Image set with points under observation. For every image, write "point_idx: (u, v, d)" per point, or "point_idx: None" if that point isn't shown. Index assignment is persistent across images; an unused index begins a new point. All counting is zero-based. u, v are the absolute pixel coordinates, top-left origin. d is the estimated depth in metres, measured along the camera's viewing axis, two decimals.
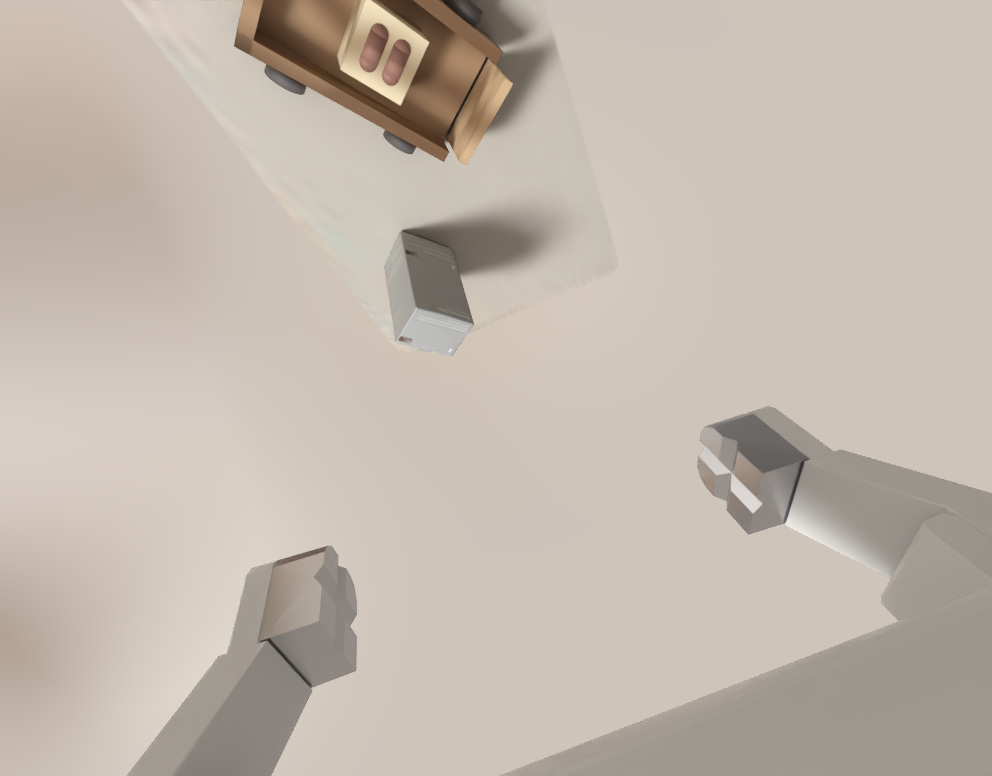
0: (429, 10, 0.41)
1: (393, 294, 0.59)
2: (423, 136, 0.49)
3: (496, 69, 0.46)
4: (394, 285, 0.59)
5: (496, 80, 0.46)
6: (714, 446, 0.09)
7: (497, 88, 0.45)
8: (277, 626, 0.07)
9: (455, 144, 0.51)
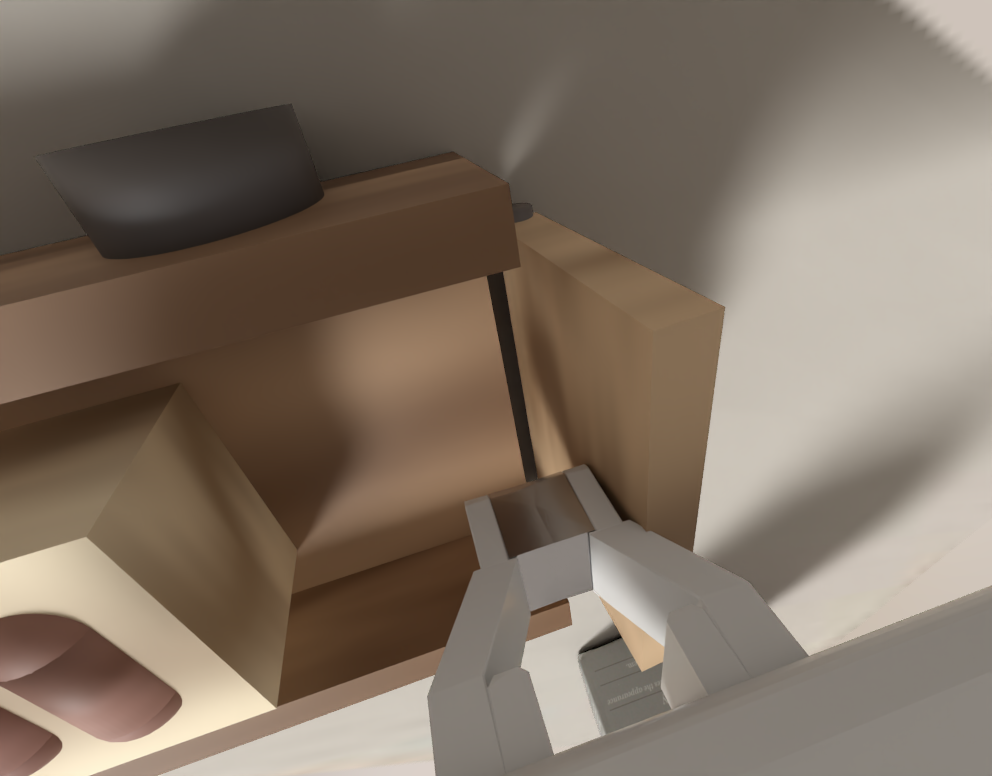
0: None
1: None
2: None
3: (553, 269, 0.08)
4: None
5: (594, 336, 0.07)
6: None
7: (631, 390, 0.06)
8: (521, 545, 0.08)
9: None
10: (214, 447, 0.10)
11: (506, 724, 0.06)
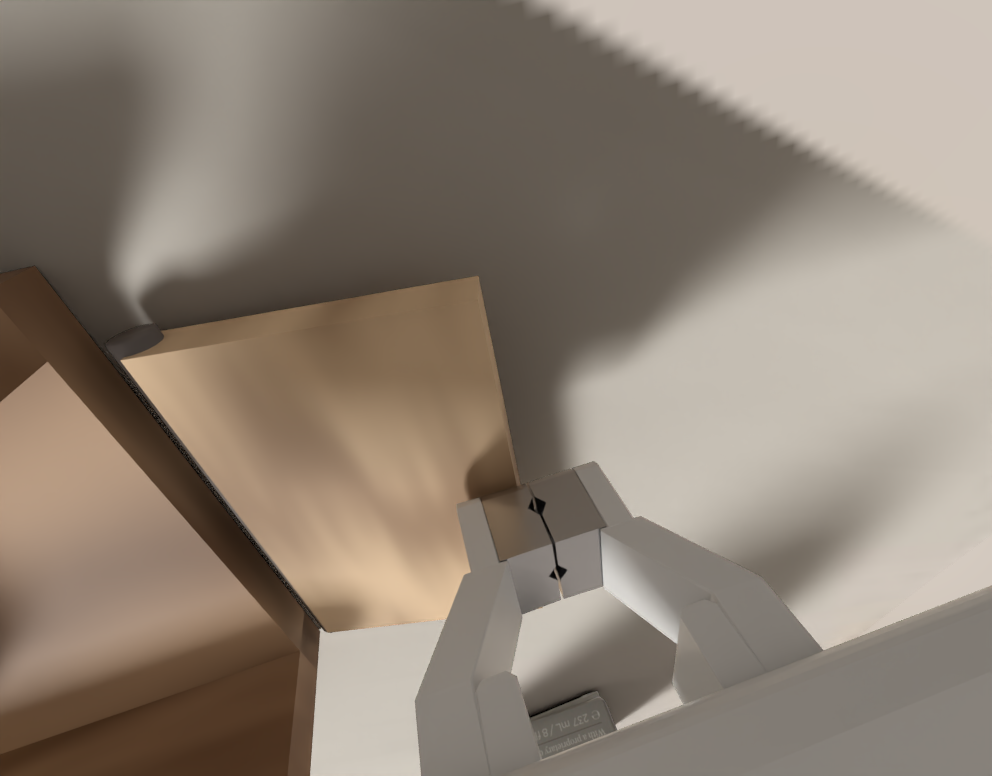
0: None
1: None
2: None
3: (304, 336, 0.07)
4: None
5: (400, 356, 0.08)
6: (534, 504, 0.09)
7: (464, 367, 0.08)
8: (512, 549, 0.08)
9: (432, 608, 0.12)
10: None
11: (493, 729, 0.06)
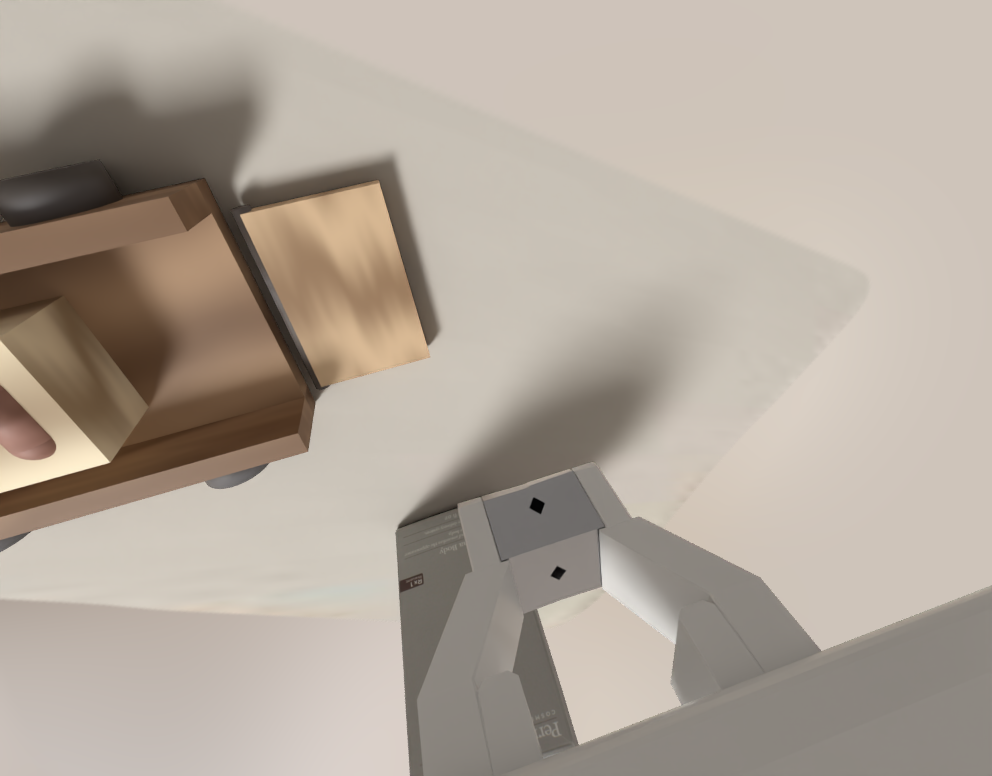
0: None
1: None
2: (232, 447, 0.22)
3: (314, 200, 0.20)
4: None
5: (352, 208, 0.20)
6: None
7: (377, 212, 0.20)
8: (513, 548, 0.08)
9: (375, 362, 0.24)
10: (85, 332, 0.20)
11: (495, 728, 0.06)
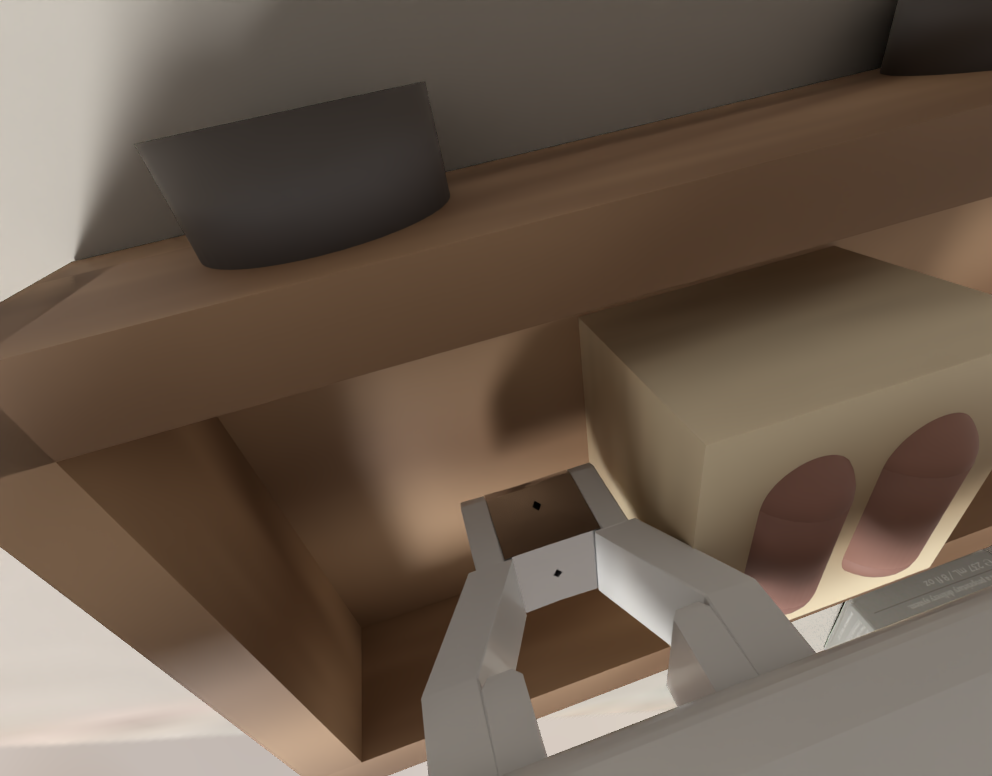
0: None
1: None
2: (961, 521, 0.12)
3: None
4: None
5: None
6: None
7: None
8: (517, 547, 0.08)
9: None
10: None
11: (500, 726, 0.06)
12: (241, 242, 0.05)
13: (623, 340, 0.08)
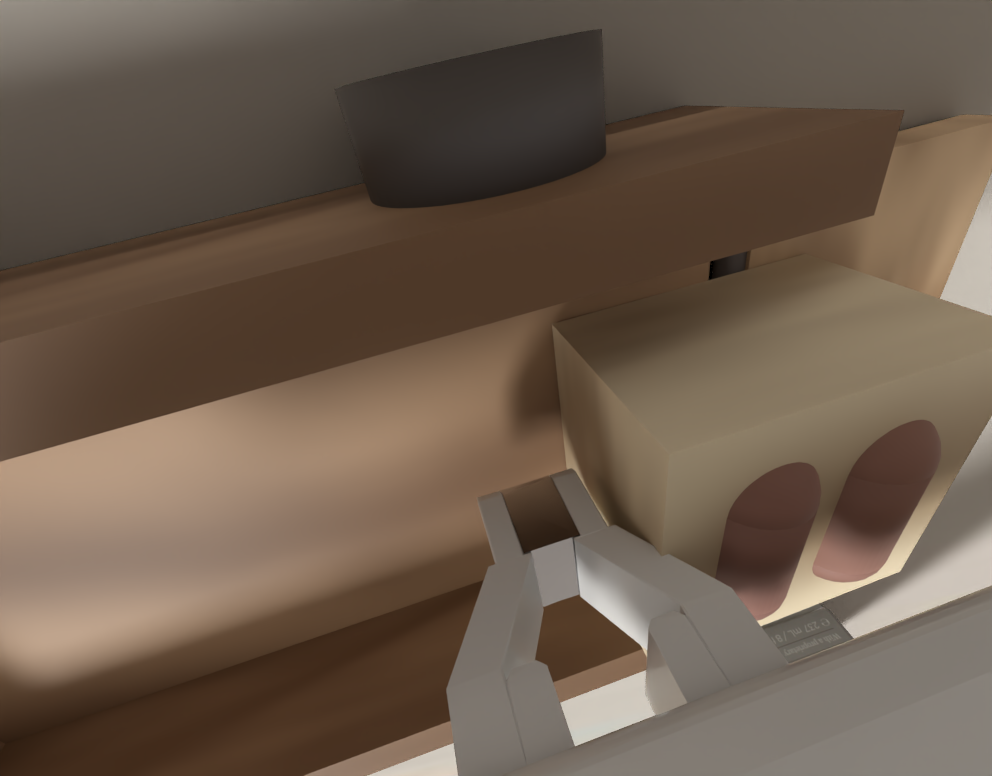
0: (274, 371, 0.05)
1: None
2: None
3: (895, 153, 0.09)
4: None
5: (941, 171, 0.10)
6: None
7: (972, 180, 0.10)
8: (535, 541, 0.08)
9: None
10: None
11: (526, 716, 0.06)
12: None
13: (595, 347, 0.08)
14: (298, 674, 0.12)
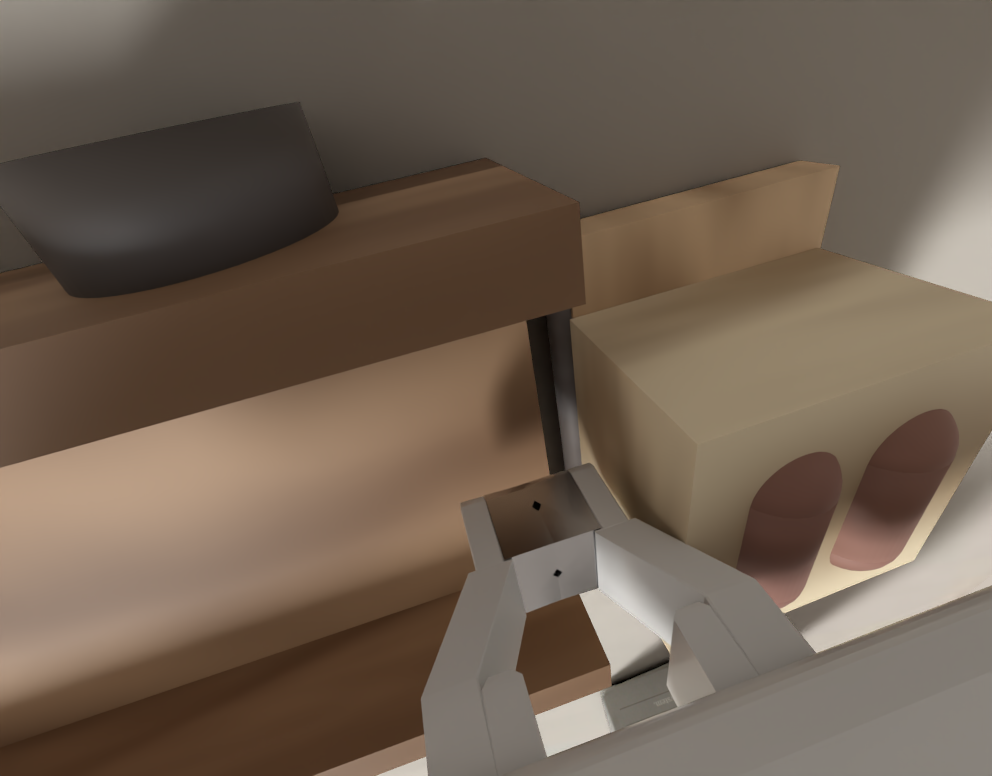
0: None
1: None
2: None
3: (714, 206, 0.09)
4: None
5: (771, 221, 0.09)
6: None
7: (807, 229, 0.10)
8: (517, 547, 0.08)
9: None
10: None
11: (499, 726, 0.06)
12: None
13: (615, 341, 0.08)
14: (136, 733, 0.12)
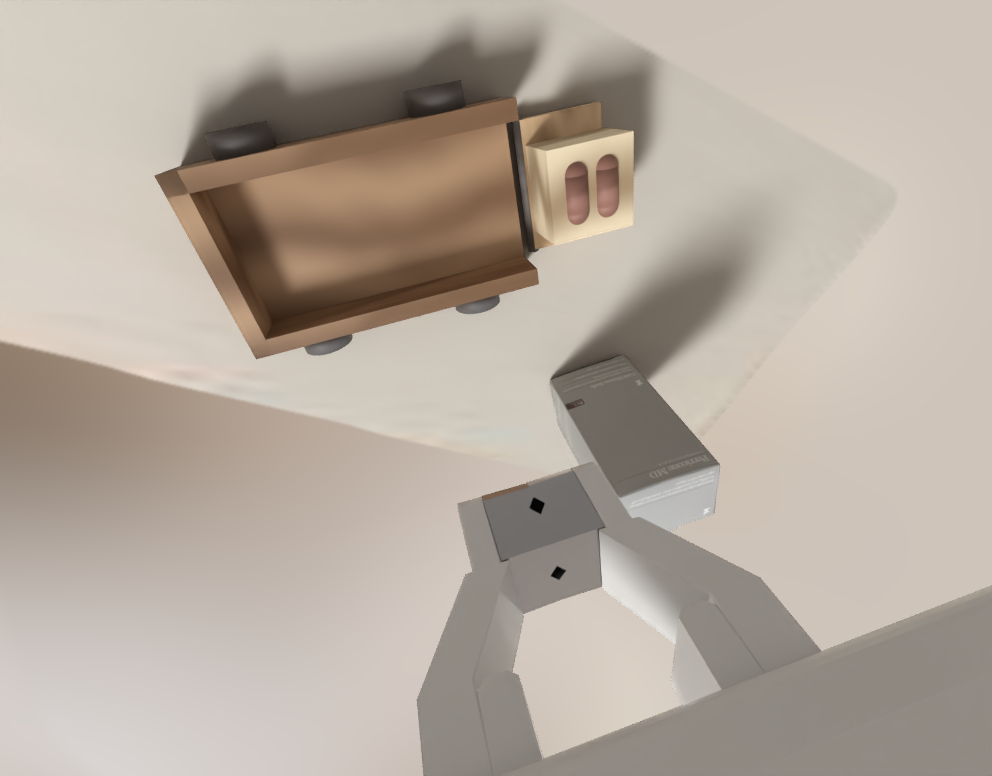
0: (394, 145, 0.27)
1: None
2: (494, 278, 0.33)
3: (562, 112, 0.31)
4: (578, 455, 0.41)
5: (582, 119, 0.32)
6: None
7: (595, 122, 0.32)
8: (513, 548, 0.08)
9: None
10: None
11: (495, 728, 0.06)
12: (224, 153, 0.26)
13: (536, 146, 0.31)
14: (376, 298, 0.34)
